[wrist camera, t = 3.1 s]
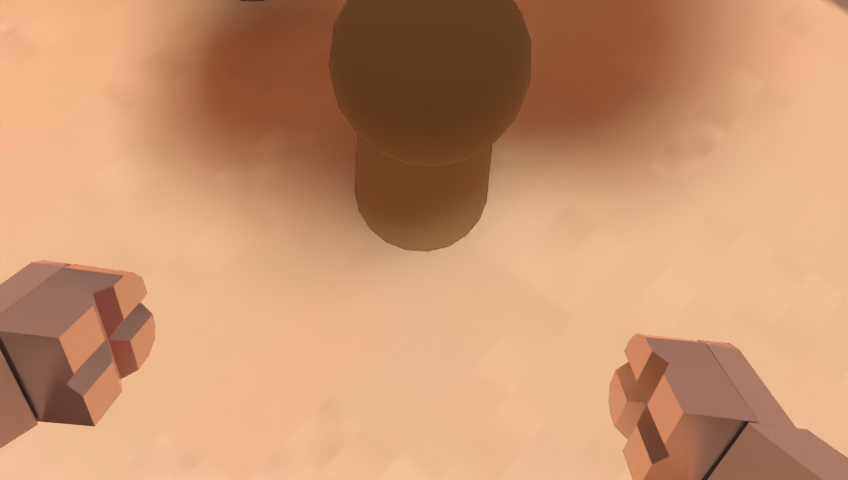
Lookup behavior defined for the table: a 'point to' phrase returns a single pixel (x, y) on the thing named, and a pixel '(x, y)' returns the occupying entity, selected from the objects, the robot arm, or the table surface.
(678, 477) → the robot arm
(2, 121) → the table surface
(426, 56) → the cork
